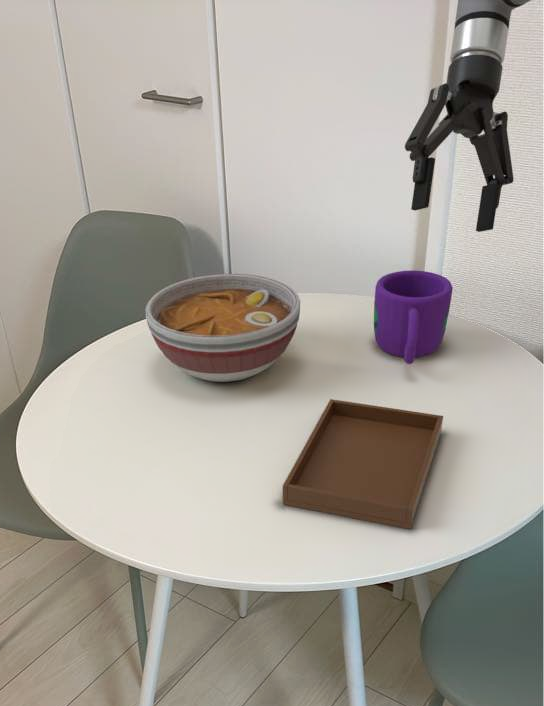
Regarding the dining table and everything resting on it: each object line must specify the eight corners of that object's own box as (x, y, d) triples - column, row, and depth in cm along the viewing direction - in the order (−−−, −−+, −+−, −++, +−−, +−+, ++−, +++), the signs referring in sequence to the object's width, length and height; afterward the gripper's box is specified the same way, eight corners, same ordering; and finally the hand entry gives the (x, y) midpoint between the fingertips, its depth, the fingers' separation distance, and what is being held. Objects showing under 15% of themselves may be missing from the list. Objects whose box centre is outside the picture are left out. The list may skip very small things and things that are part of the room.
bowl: (318, 341, 121) (320, 281, 115) (271, 412, 106) (269, 346, 99) (189, 324, 128) (184, 266, 122) (127, 389, 113) (116, 326, 106)
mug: (372, 328, 124) (376, 268, 118) (442, 330, 123) (451, 269, 116) (368, 380, 111) (373, 315, 105) (447, 383, 110) (457, 318, 103)
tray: (440, 434, 100) (443, 415, 98) (410, 529, 85) (412, 510, 83) (329, 416, 104) (330, 398, 102) (282, 504, 90) (282, 485, 88)
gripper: (511, 100, 118) (489, 241, 121) (393, 42, 104) (372, 203, 108) (553, 85, 111) (528, 234, 115) (432, 21, 98) (409, 193, 101)
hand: (453, 219), depth 111 cm, fingers open, 13 cm apart
